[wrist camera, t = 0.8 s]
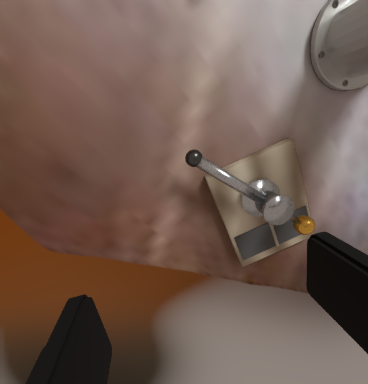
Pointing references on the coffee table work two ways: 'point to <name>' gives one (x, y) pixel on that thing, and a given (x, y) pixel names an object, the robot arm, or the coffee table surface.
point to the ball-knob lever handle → (256, 195)
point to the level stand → (257, 226)
